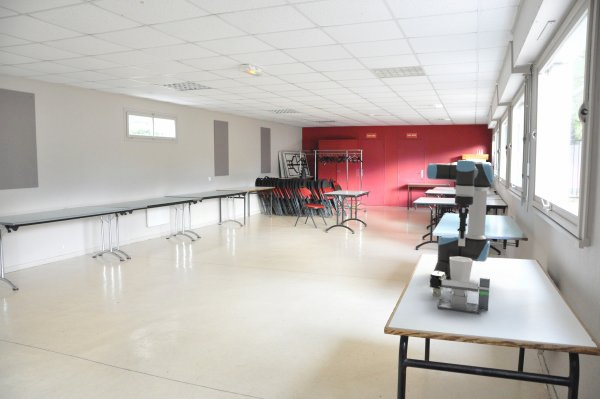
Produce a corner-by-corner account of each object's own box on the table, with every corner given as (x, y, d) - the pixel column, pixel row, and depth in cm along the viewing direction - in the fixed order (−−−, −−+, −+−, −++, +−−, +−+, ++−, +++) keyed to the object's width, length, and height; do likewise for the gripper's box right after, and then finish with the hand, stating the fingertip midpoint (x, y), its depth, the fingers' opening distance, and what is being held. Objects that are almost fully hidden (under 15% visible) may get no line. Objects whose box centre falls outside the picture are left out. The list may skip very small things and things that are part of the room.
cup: (472, 297, 204) (474, 262, 203) (449, 295, 206) (451, 260, 205) (467, 290, 215) (469, 257, 214) (446, 288, 217) (448, 255, 216)
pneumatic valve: (428, 297, 202) (429, 272, 201) (435, 291, 212) (436, 267, 211) (440, 299, 200) (441, 274, 198) (446, 293, 209) (447, 269, 208)
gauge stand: (487, 307, 190) (489, 276, 189) (488, 315, 180) (490, 283, 179) (439, 301, 198) (440, 271, 196) (437, 308, 188) (439, 277, 186)
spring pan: (487, 298, 189) (488, 284, 188) (488, 304, 181) (489, 290, 180) (442, 292, 196) (442, 279, 195) (440, 298, 188) (441, 284, 187)
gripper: (455, 192, 200) (453, 237, 202) (454, 197, 177) (451, 247, 179) (473, 193, 197) (470, 238, 199) (473, 198, 174) (471, 249, 176)
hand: (461, 242), depth 189 cm, fingers open, 13 cm apart
